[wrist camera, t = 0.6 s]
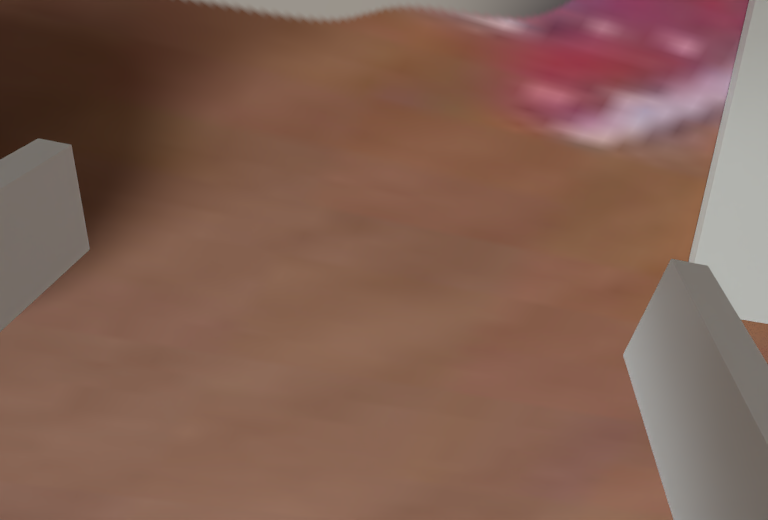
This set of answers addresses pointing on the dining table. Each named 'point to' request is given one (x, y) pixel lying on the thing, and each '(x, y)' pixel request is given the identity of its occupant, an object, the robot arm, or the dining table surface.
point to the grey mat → (740, 180)
